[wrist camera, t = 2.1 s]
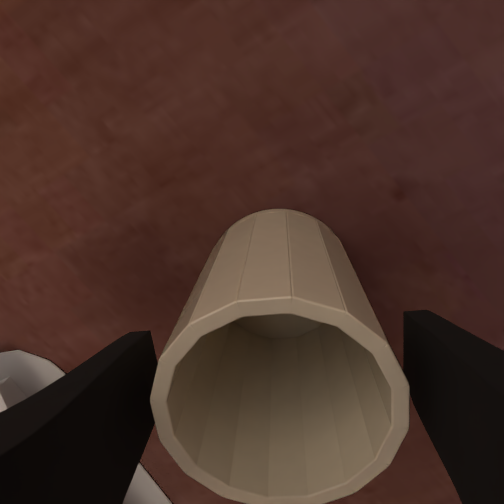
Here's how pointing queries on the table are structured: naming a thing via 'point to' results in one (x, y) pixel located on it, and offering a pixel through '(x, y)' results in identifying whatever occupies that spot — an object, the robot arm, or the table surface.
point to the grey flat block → (37, 378)
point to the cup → (280, 370)
